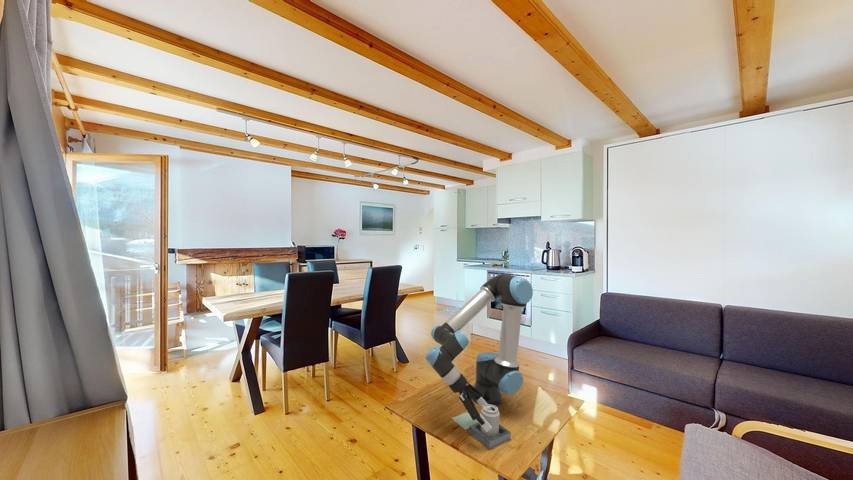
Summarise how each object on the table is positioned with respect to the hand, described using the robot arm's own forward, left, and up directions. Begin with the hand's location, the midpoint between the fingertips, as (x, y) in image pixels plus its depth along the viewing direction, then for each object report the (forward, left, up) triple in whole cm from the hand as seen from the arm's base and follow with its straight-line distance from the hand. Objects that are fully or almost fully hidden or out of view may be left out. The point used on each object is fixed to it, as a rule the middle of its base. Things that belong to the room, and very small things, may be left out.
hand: (489, 419), depth 131 cm
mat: (-1, -13, -7) cm, 15 cm away
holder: (-1, 0, -7) cm, 7 cm away
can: (-1, 0, -7) cm, 7 cm away
